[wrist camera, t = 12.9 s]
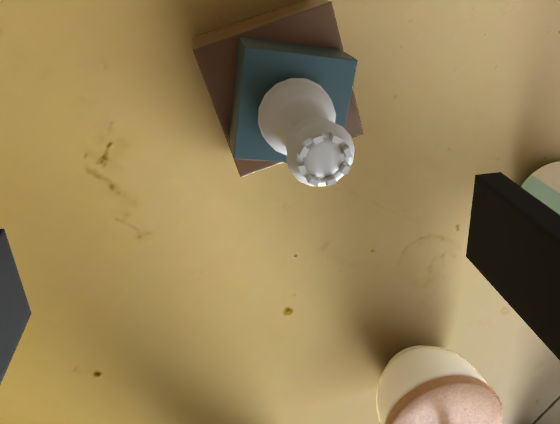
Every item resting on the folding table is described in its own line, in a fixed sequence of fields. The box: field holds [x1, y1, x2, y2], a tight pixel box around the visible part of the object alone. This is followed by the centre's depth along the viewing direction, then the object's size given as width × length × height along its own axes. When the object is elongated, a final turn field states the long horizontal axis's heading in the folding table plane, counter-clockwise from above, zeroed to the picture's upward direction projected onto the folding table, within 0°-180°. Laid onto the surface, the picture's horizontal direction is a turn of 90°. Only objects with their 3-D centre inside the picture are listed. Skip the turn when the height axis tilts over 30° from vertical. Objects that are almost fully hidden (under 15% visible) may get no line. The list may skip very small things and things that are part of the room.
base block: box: [193, 0, 363, 177], centre depth 37 cm, size 9×9×5 cm
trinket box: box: [376, 345, 503, 424], centre depth 50 cm, size 11×11×9 cm
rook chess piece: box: [258, 78, 355, 187], centre depth 28 cm, size 4×4×8 cm
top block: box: [229, 37, 357, 163], centre depth 33 cm, size 6×6×4 cm
